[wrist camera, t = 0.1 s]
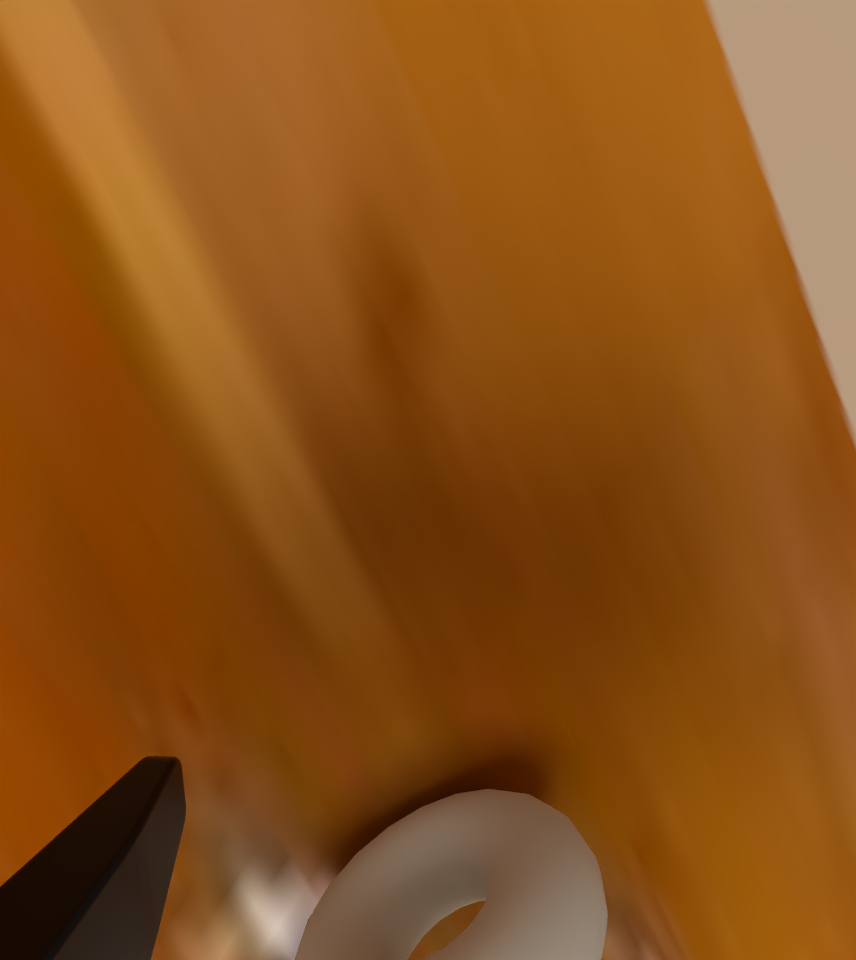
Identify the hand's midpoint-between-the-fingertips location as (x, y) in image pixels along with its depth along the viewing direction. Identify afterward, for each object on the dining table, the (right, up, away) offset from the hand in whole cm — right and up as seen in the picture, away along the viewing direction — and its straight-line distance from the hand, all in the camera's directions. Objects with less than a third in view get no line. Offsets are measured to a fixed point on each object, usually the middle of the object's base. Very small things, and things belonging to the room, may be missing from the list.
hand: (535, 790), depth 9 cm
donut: (-1, -9, +17) cm, 19 cm away
